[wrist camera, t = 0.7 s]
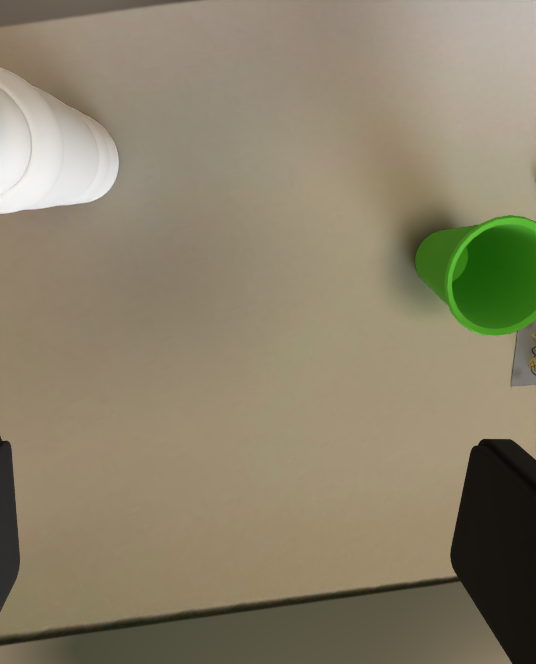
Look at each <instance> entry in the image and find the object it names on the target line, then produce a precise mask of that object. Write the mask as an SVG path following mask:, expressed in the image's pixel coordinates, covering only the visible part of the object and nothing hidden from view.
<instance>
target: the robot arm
mask: <svg viewBox="0 0 536 664" xmlns="http://www.w3.org/2000/svg"><path fill="white" fill-rule="evenodd" d="M450 557H451V563H452V567H453V569H454V571H455V573H456V574H457V576H458V578H459V579H460V581H461V582H462V584H463V585H464V587H465V589H466V590H467V592H468V593H469V595H470V597H471V598H472V600H473V601H474V603H475V605H476V606H477V608H478V609H479V611H480V613H481V614H482V616H483V617H484V619H485V620H486V622H487V624H488V625H489V627H490V629H491V630H492V632H493V633H494V635H495V637H496V638H497V640H498V641H499V643H500V645H501V646H502V648H503V649H504V651H505V652H506V654H507V656H508V657H509V659H510V660H511V662H512V664H536V460H535V459H534V458H533V457H532V456H531V455H529V454H528V453H527V452H526V451H525V450H523V449H522V448H521V447H520V446H519V445H518V444H516V443H515V442H514V441H512V440H511V439H483V440H481V441H480V443H479V444H478V446H474V447H473V448H472V450H471V453H470V457H469V462H468V467H467V472H466V477H465V482H464V487H463V492H462V497H461V502H460V507H459V512H458V517H457V522H456V527H455V532H454V537H453V542H452V546H451V553H450ZM19 565H20V553H19V541H18V528H17V515H16V502H15V489H14V477H13V464H12V451H11V445H10V442H8V441H2V439H1V437H0V611H1V609H2V607H3V605H4V603H5V601H6V599H7V597H8V595H9V593H10V591H11V589H12V587H13V585H14V583H15V580H16V578H17V575H18V571H19Z"/></svg>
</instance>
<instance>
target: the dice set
mask: <svg viewBox="0 0 536 664" xmlns="http://www.w3.org/2000/svg"><path fill="white" fill-rule="evenodd" d="M531 337H532V338H533V339H534V340H535V341H536V331H535V332H533V333H532V335H531ZM528 364H529V368H530V369H531V370H532V371H534V372H536V356H535V357H533V358H532V359H531V360H530V362H529V363H528Z"/></svg>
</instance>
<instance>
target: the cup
mask: <svg viewBox="0 0 536 664" xmlns="http://www.w3.org/2000/svg"><path fill="white" fill-rule="evenodd" d="M415 266H416V271H417V273H418V275H419V276H420V278H421V279H422V280H423V281H424V282H425V283H426V284H427V285H428V286H429V287H430V288H431V289H432V290H433V291H434V292H435V293H436V294H437V295H438V296H439V297H440V298H441V299H442V300H443V301H444V302H445V303H446V304H447V305H448V306H449V308H450V311H451V313H452V314H453V316H454V317H455V318H456V319H457V321H458V322H459V323H460V324H461V325H463V326H464V327H466V328H467V329H468V330H470V331H472V332H475V333H478V334H481V335H487V336H500V335H506V334H511V333H513V332H516V331H518V330H520V329H523V328H525V327H526V326H528V325H529V324H531V323H532V322H534V321H535V320H536V222H535V221H533V220H530V219H528V218H525V217H520V216H511V215H510V216H503V217H496V218H494V219H491V220H489V221H486V222H484V223H481V224H480V225H474V226H468V227H461V228H455V229H448V230H442V231H437V232H435V233H432V234H430V235H429V236H428V237H426V238H425V239H424V240H423V241H422V243H421V244H420V246H419V247H418V249H417V252H416V256H415Z"/></svg>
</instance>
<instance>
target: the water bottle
mask: <svg viewBox="0 0 536 664" xmlns="http://www.w3.org/2000/svg"><path fill="white" fill-rule="evenodd" d="M118 167H119V159H118V152H117V149H116V146H115V143H114V141H113V139H112V137H111V136H110V134H109V133H108V132H107V131H106V129H105V128H104V127H103V126H102V125H101V124H99V123H98V122H97V121H95V120H94V119H92V118H91V117H89V116H87V115H84V114H82V113H81V112H79V111H78V110H76V109H74V108H72V107H70V106H67V105H66V104H64V103H63V102H61V101H60V100H58V99H57V98H55V97H53V96H52V95H50V94H48V93H46V92H44V91H43V90H41V89H39V88H36V87H34V86H32V85H31V84H29V83H28V82H27V81H25V80H24V79H22V78H21V77H19V76H18V75H16V74H14V73H12V72H10V71H8V70H5V69H3V68H0V214H3V213H12V212H17V211H20V210H28V209H41V208H48V207H53V206H58V205H71V204H82V203H88V202H91V201H94V200H96V199H98V198H100V197H101V196H103V195H104V194H105V193H106V192H107V191H108V190H109V189H110V188H111V187H112V185H113V183H114V181H115V179H116V177H117V173H118Z"/></svg>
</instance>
